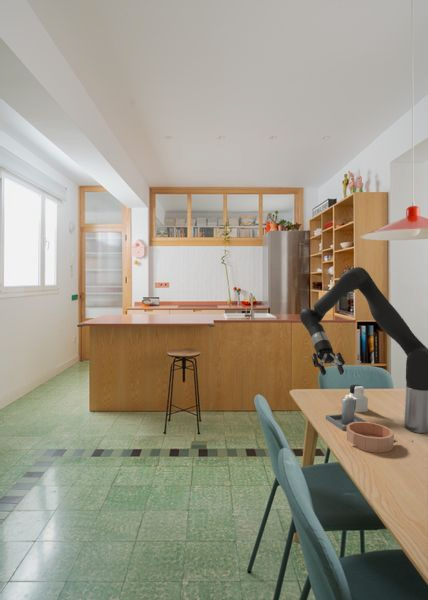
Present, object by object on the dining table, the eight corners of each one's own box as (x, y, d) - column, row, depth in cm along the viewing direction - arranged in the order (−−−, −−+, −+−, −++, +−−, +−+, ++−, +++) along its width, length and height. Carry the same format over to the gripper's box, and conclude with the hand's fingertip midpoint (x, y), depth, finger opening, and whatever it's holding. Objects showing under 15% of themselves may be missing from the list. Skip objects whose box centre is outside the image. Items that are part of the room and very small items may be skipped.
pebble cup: (349, 420, 169) (350, 394, 168) (356, 424, 164) (357, 397, 163) (339, 421, 168) (339, 394, 167) (345, 425, 163) (346, 398, 162)
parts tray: (352, 418, 174) (352, 413, 174) (371, 430, 161) (371, 424, 161) (325, 421, 170) (325, 415, 170) (342, 432, 158) (342, 426, 158)
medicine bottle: (344, 409, 186) (345, 384, 185) (356, 408, 188) (358, 383, 188) (354, 414, 179) (356, 388, 178) (367, 413, 182) (368, 387, 181)
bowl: (373, 432, 159) (374, 420, 158) (402, 450, 143) (403, 436, 143) (338, 436, 155) (338, 423, 154) (363, 454, 139) (363, 440, 139)
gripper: (310, 339, 182) (322, 370, 172) (338, 338, 186) (351, 369, 175) (304, 348, 188) (315, 379, 177) (331, 348, 191) (344, 377, 181)
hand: (333, 374), depth 176 cm, fingers open, 8 cm apart
